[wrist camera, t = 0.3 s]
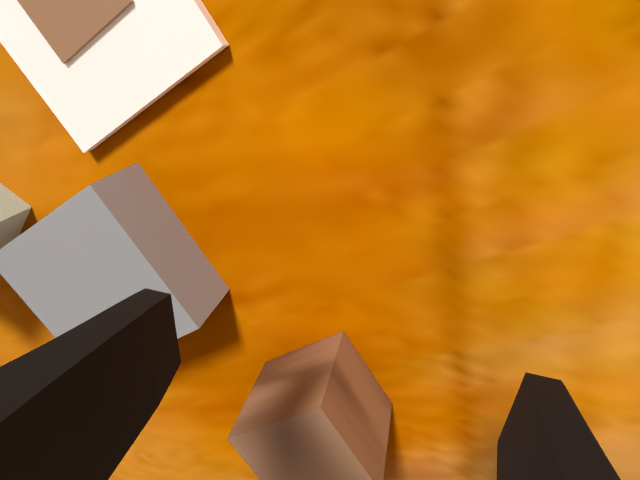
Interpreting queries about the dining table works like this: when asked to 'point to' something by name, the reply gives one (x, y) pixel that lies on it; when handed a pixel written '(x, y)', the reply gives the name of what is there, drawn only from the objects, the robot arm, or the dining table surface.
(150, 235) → the slate plinth
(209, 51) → the plaque
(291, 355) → the walnut block
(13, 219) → the grey-green block
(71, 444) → the robot arm
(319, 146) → the dining table surface
